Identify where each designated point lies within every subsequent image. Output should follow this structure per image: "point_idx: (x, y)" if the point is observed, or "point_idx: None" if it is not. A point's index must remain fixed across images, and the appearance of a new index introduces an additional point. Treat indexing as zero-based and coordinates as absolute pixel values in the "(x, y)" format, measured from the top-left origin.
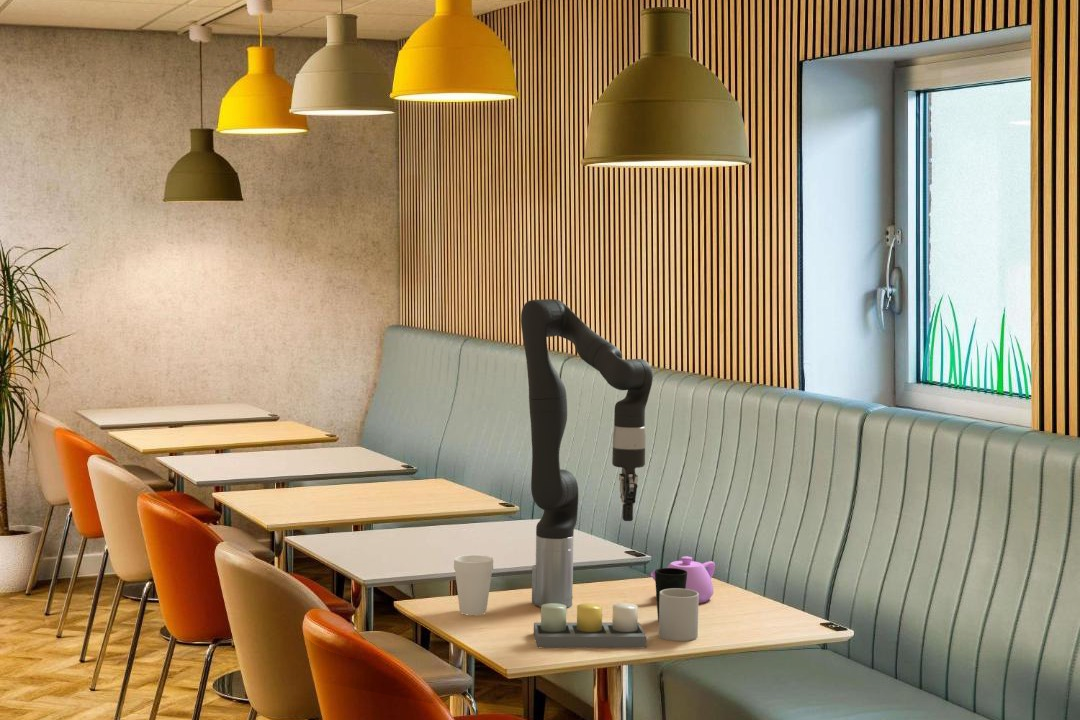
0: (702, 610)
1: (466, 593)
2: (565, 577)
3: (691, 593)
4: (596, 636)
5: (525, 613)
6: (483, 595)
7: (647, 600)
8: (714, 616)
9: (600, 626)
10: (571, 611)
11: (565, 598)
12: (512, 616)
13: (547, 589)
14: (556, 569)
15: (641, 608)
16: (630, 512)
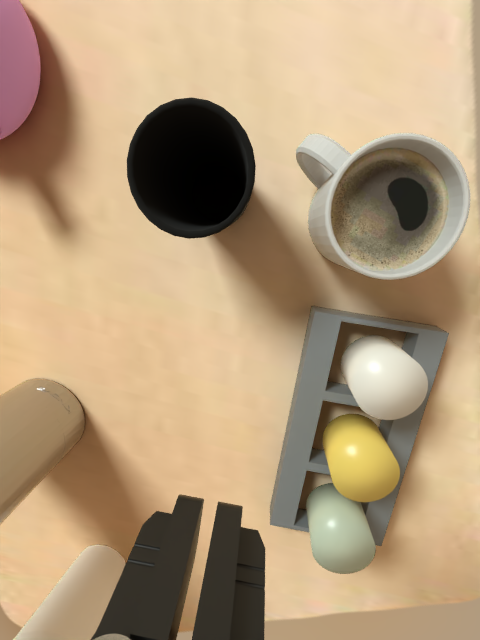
0: (112, 58)
1: None
2: (34, 442)
3: (368, 151)
4: (414, 440)
5: (116, 483)
6: (107, 592)
7: (4, 188)
8: (180, 43)
9: (374, 425)
10: (105, 395)
11: (67, 412)
12: (137, 510)
13: (56, 463)
14: (26, 481)
15: (85, 228)
16: (261, 597)
